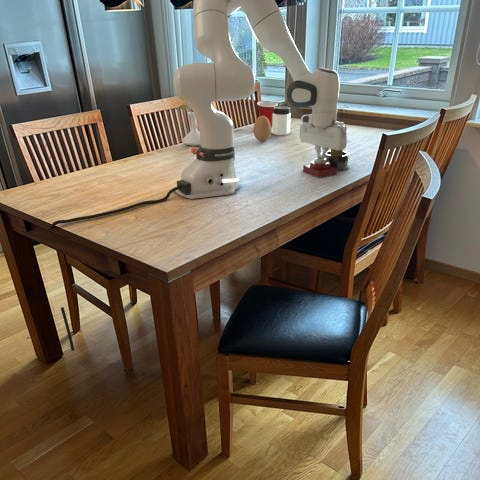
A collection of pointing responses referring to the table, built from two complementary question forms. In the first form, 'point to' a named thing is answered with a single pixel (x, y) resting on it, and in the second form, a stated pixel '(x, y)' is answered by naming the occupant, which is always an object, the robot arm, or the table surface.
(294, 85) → the robot arm
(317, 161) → the button
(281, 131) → the jar
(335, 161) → the cup
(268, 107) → the plastic cup
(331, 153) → the olive yellow knobbed peg
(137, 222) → the table surface
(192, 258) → the table surface
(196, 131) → the flower in vase
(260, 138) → the egg
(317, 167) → the panel
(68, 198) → the table surface
